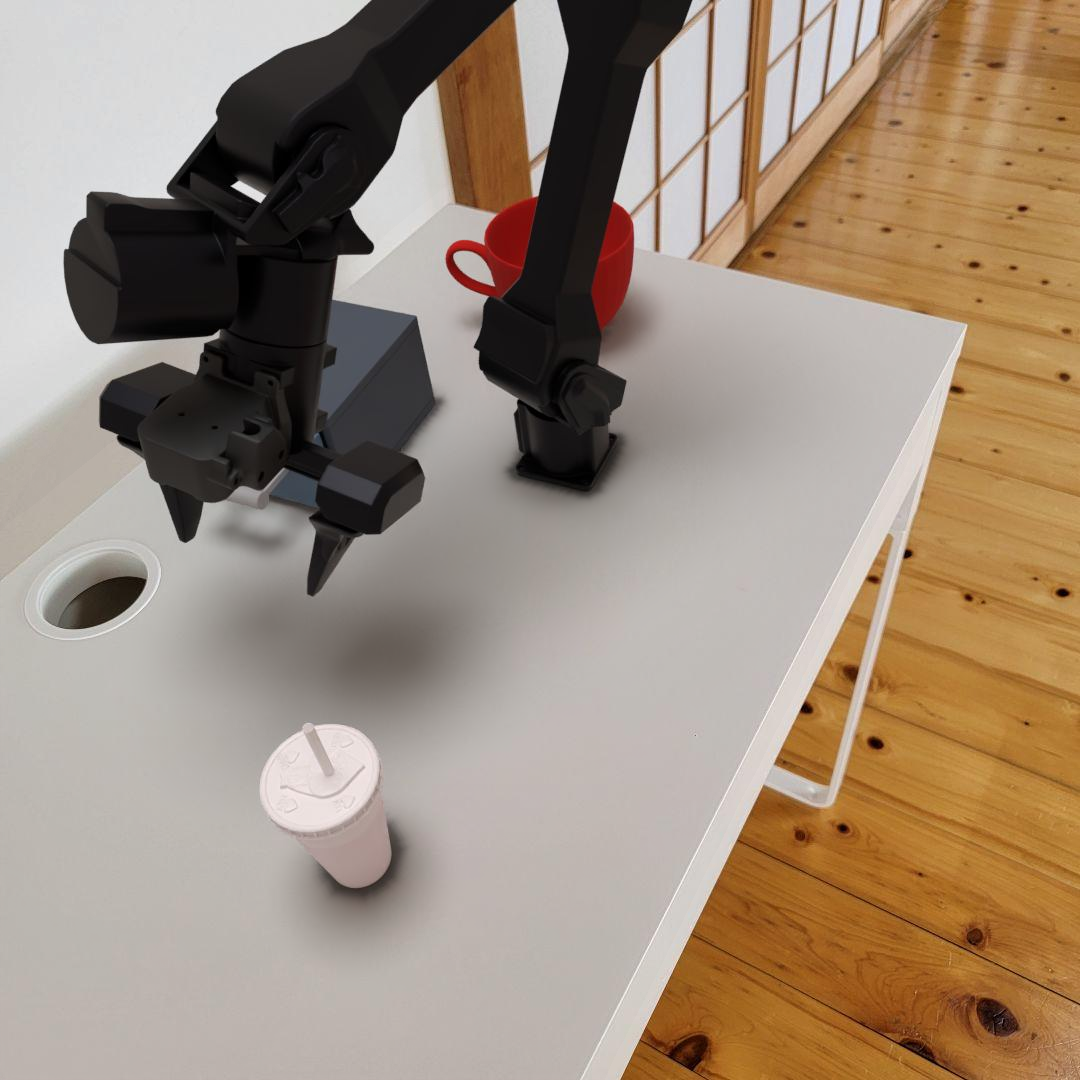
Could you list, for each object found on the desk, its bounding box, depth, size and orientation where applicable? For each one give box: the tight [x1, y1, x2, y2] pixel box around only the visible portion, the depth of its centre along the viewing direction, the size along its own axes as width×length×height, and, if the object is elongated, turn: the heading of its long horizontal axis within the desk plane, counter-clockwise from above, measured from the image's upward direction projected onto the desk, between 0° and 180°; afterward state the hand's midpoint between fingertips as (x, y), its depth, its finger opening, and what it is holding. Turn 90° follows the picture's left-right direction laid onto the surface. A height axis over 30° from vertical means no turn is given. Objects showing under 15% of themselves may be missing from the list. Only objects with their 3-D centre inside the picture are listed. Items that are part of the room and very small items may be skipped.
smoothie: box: [259, 722, 392, 889], centre depth 54 cm, size 6×6×14 cm
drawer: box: [224, 431, 328, 511], centre depth 79 cm, size 17×11×7 cm
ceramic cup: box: [444, 195, 635, 332], centre depth 90 cm, size 13×17×10 cm
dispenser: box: [318, 299, 436, 455], centre depth 82 cm, size 14×13×9 cm
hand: (249, 566), depth 62 cm, fingers open, 9 cm apart
